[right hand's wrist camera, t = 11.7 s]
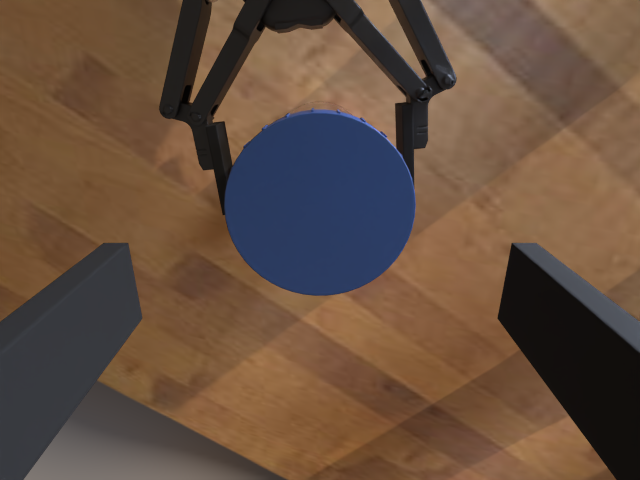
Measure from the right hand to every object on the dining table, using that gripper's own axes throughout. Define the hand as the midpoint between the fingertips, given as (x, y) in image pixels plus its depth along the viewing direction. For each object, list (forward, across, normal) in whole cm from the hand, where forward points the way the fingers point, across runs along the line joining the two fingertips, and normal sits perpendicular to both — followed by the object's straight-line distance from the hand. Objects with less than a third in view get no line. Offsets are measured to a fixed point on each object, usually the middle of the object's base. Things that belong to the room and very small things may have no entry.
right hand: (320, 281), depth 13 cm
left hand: (+19, 0, -3) cm, 19 cm away
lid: (+7, 0, 0) cm, 7 cm away
